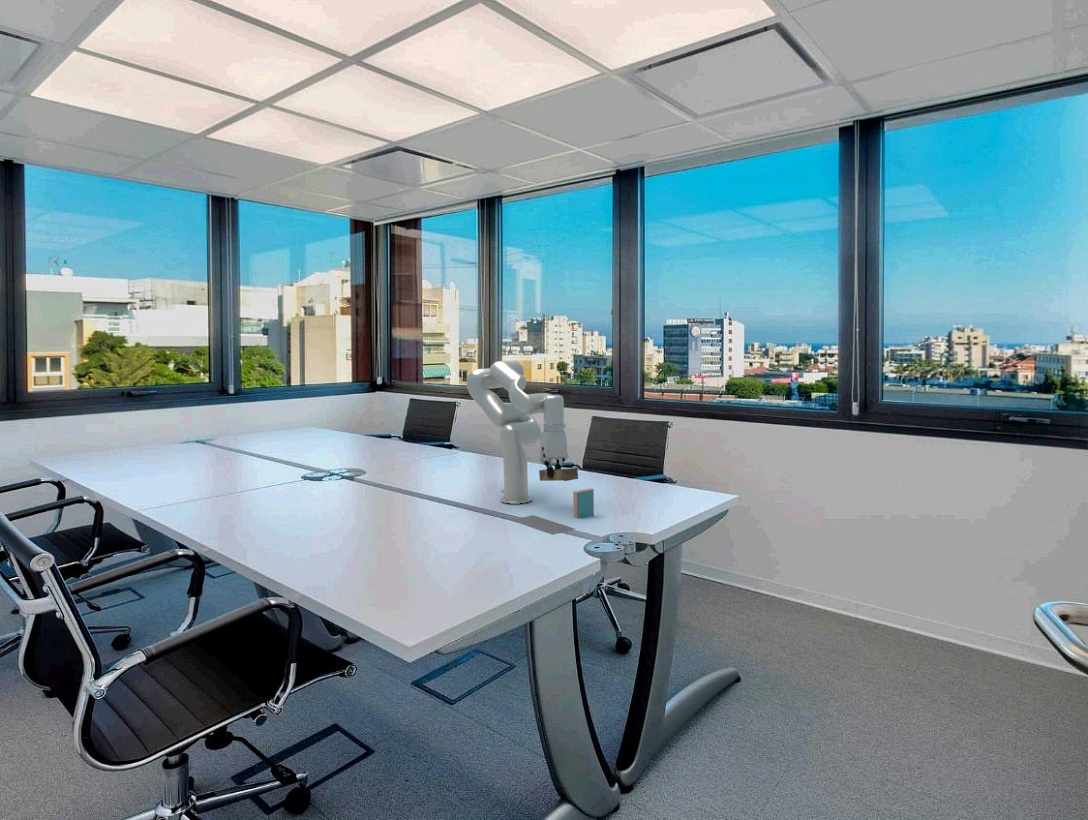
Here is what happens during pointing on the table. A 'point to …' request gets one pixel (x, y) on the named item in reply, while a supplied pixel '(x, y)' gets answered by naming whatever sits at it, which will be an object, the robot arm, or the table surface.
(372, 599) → the table surface
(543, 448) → the robot arm
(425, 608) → the table surface
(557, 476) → the wooden beam
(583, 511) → the tile
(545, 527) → the tool mat
